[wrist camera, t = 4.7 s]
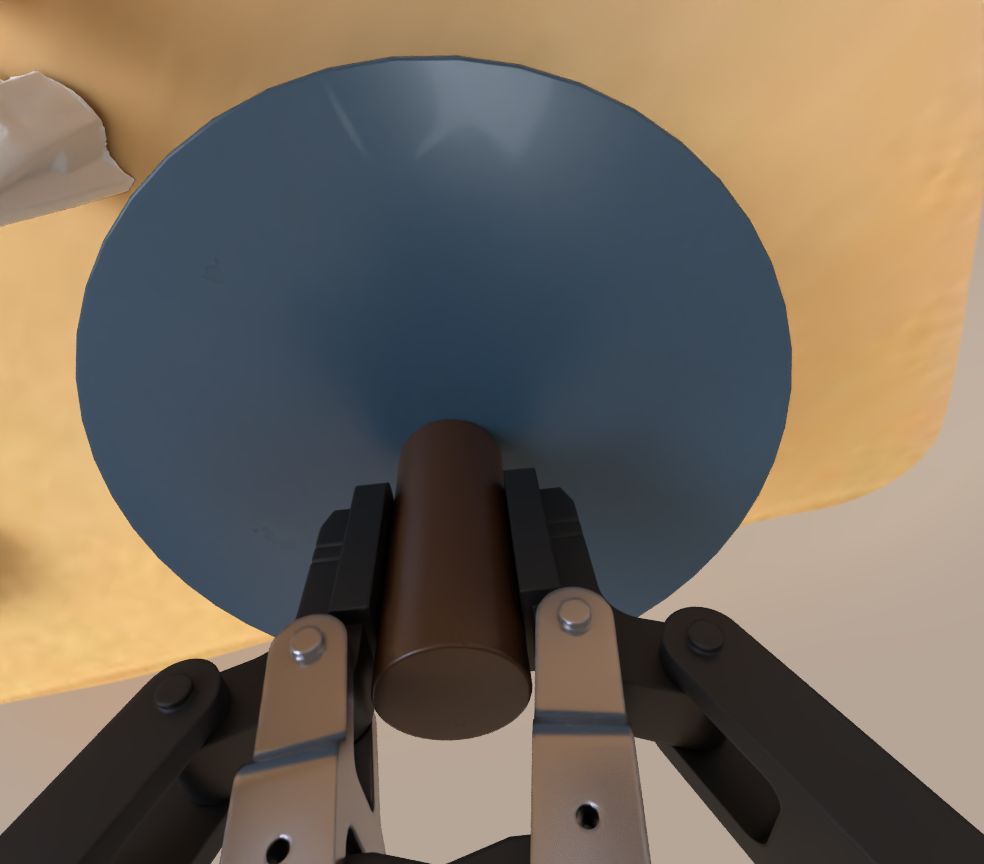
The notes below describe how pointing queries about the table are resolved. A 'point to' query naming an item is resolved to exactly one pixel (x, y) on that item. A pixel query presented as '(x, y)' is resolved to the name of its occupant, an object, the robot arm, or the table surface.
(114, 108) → the table surface
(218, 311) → the lid
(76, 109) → the shaker set
